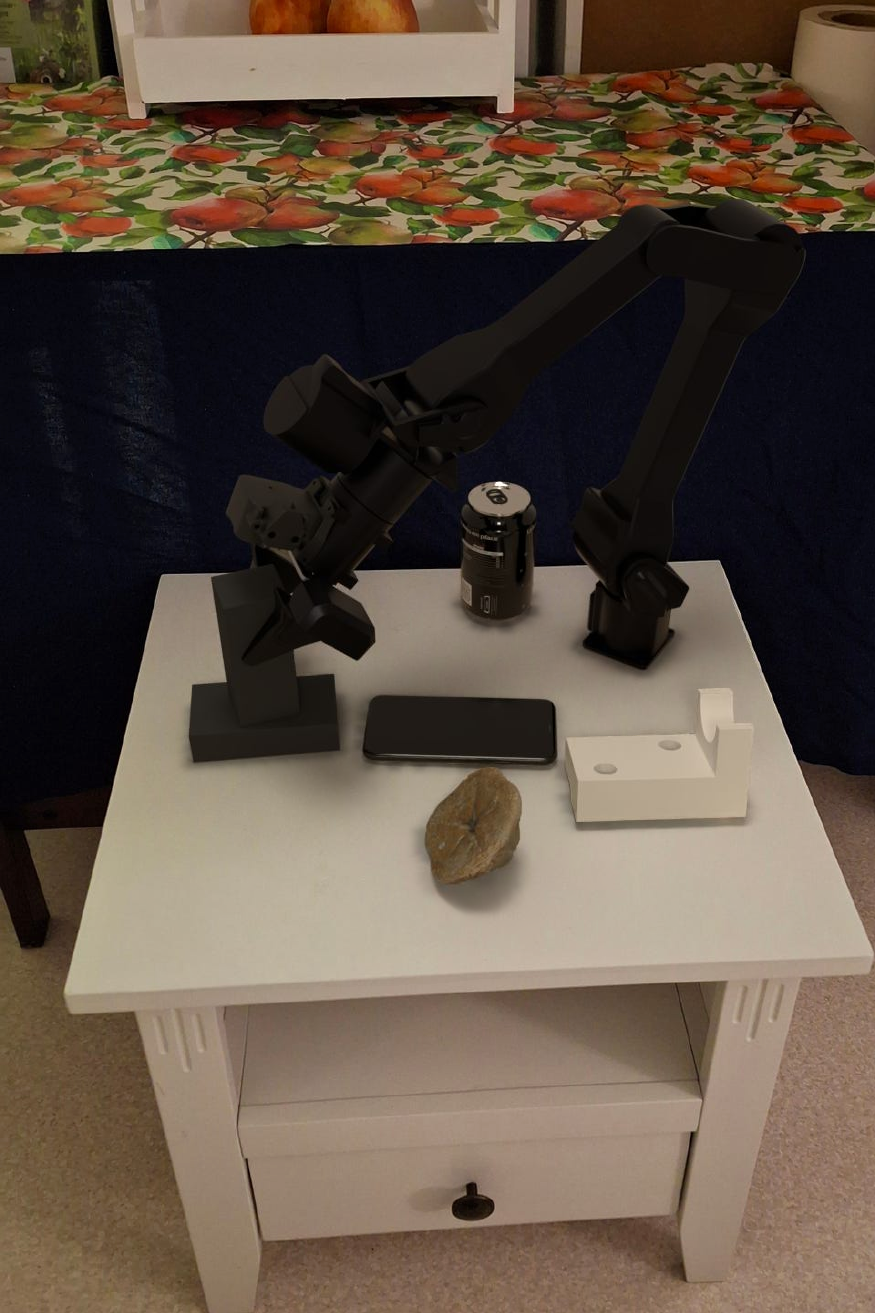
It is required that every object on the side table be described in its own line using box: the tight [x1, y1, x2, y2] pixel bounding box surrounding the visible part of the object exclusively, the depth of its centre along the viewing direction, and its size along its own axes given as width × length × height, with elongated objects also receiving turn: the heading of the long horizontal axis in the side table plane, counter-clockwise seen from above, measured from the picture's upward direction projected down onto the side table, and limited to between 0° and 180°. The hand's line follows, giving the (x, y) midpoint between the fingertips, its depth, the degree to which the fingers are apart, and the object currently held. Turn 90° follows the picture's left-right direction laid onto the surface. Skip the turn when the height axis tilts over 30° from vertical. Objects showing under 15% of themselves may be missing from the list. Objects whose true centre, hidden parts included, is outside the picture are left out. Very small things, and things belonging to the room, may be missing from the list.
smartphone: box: [361, 694, 558, 767], centre depth 102 cm, size 8×1×16 cm
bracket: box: [564, 687, 755, 823], centre depth 95 cm, size 13×7×8 cm, turn 92°
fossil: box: [424, 766, 523, 886], centre depth 90 cm, size 9×4×10 cm
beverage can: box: [460, 481, 538, 622], centre depth 113 cm, size 7×7×12 cm
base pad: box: [188, 673, 341, 764], centre depth 102 cm, size 12×6×3 cm, turn 96°
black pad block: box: [210, 564, 300, 727], centre depth 97 cm, size 5×4×12 cm
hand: (238, 644), depth 96 cm, fingers closed on black pad block, 4 cm apart
